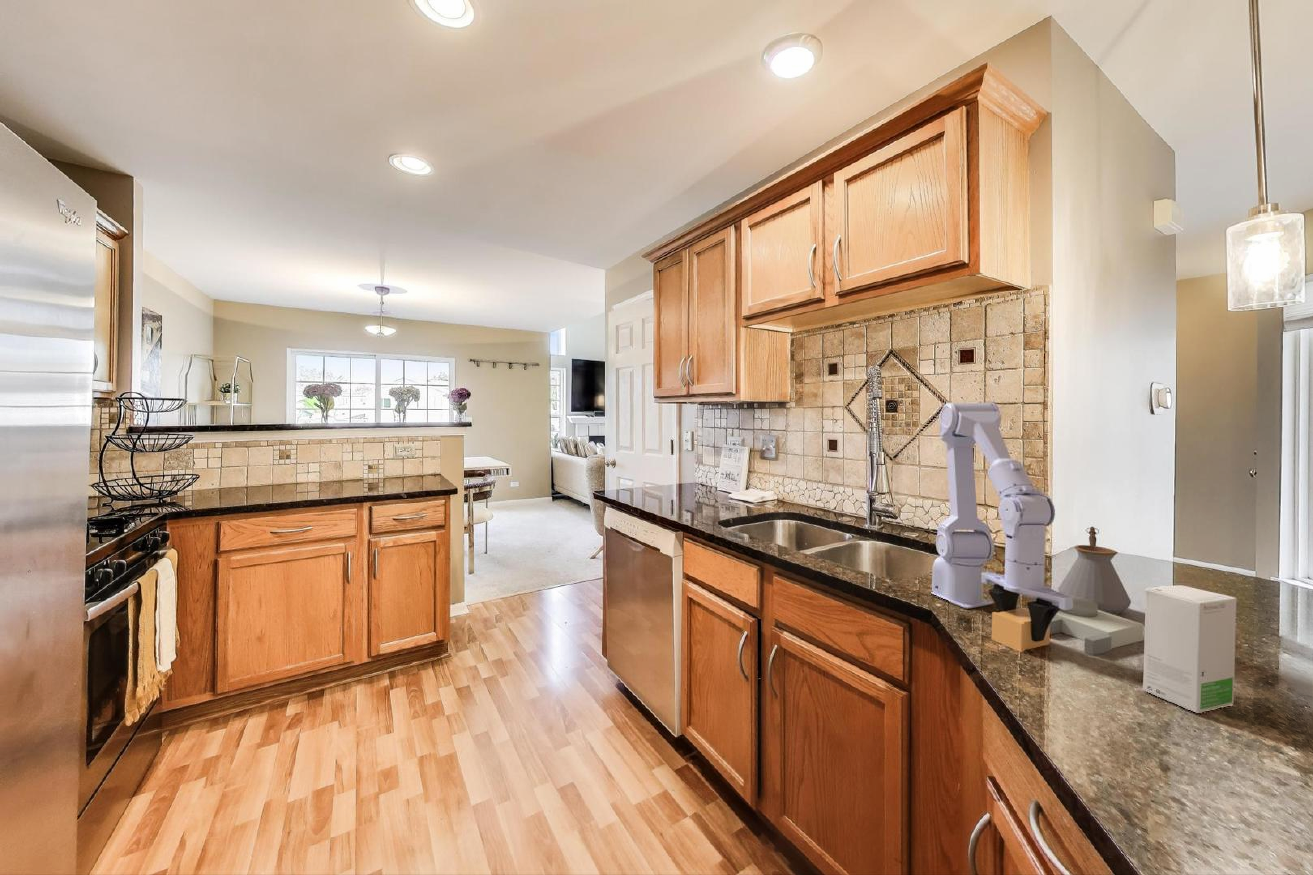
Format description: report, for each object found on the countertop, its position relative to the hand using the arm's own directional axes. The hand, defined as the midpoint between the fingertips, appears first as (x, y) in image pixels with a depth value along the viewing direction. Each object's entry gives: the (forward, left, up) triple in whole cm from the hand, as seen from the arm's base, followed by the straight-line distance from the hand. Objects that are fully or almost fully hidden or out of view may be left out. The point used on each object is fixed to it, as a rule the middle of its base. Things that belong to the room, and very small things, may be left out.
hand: (1022, 634), depth 87 cm
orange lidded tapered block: (0, 0, -1) cm, 1 cm away
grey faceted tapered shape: (-8, +34, -2) cm, 35 cm away
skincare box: (+20, +4, -2) cm, 20 cm away
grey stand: (+1, +14, -1) cm, 14 cm away
